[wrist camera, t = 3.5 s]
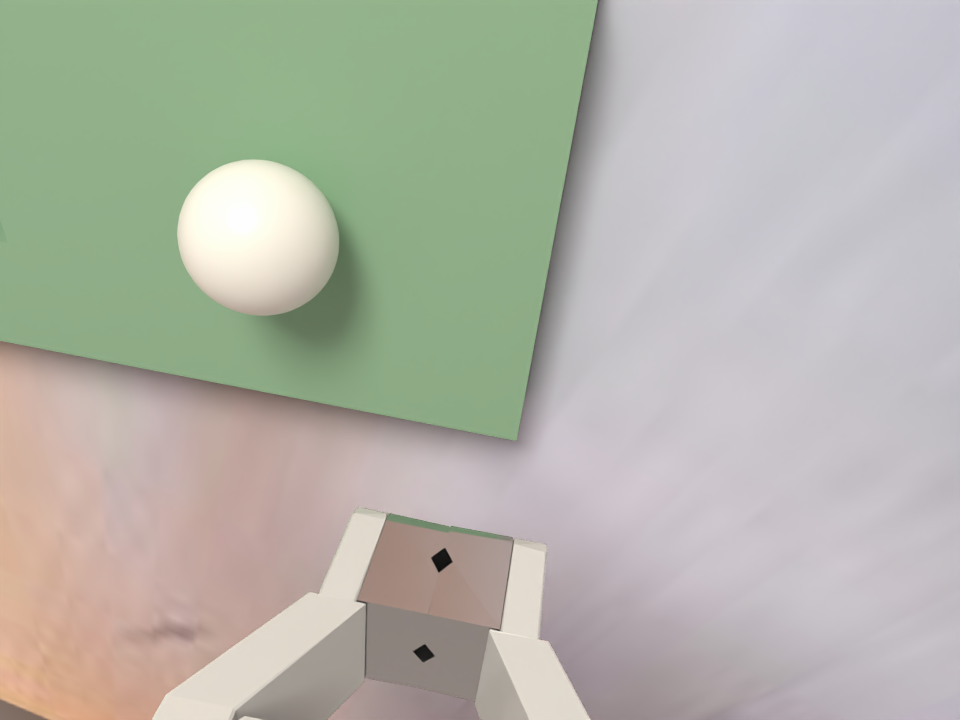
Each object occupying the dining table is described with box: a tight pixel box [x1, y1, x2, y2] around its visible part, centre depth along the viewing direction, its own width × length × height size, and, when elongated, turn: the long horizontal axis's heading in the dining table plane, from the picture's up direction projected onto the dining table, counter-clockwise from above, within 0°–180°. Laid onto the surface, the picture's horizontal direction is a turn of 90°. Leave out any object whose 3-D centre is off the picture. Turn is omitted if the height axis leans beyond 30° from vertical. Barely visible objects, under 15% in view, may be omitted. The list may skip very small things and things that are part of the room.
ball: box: [177, 159, 339, 316], centre depth 17 cm, size 4×4×4 cm
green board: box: [0, 0, 598, 441], centre depth 20 cm, size 26×14×2 cm, turn 84°
